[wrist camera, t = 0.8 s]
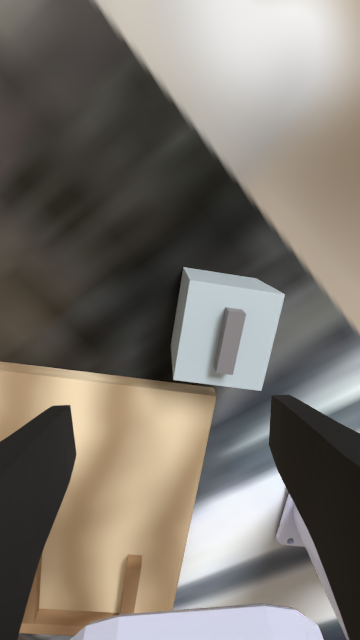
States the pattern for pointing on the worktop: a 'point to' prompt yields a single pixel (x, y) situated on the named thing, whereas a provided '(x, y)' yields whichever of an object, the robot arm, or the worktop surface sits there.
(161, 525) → the wall board
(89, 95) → the worktop surface
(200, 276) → the cabinet block
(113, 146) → the worktop surface
